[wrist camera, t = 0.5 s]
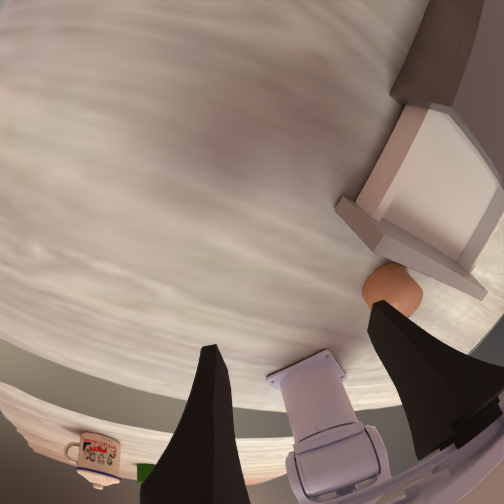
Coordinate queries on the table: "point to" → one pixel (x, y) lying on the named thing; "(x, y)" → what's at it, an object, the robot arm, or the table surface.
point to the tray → (429, 201)
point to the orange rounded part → (393, 289)
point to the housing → (461, 72)
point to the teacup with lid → (97, 459)
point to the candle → (143, 471)
